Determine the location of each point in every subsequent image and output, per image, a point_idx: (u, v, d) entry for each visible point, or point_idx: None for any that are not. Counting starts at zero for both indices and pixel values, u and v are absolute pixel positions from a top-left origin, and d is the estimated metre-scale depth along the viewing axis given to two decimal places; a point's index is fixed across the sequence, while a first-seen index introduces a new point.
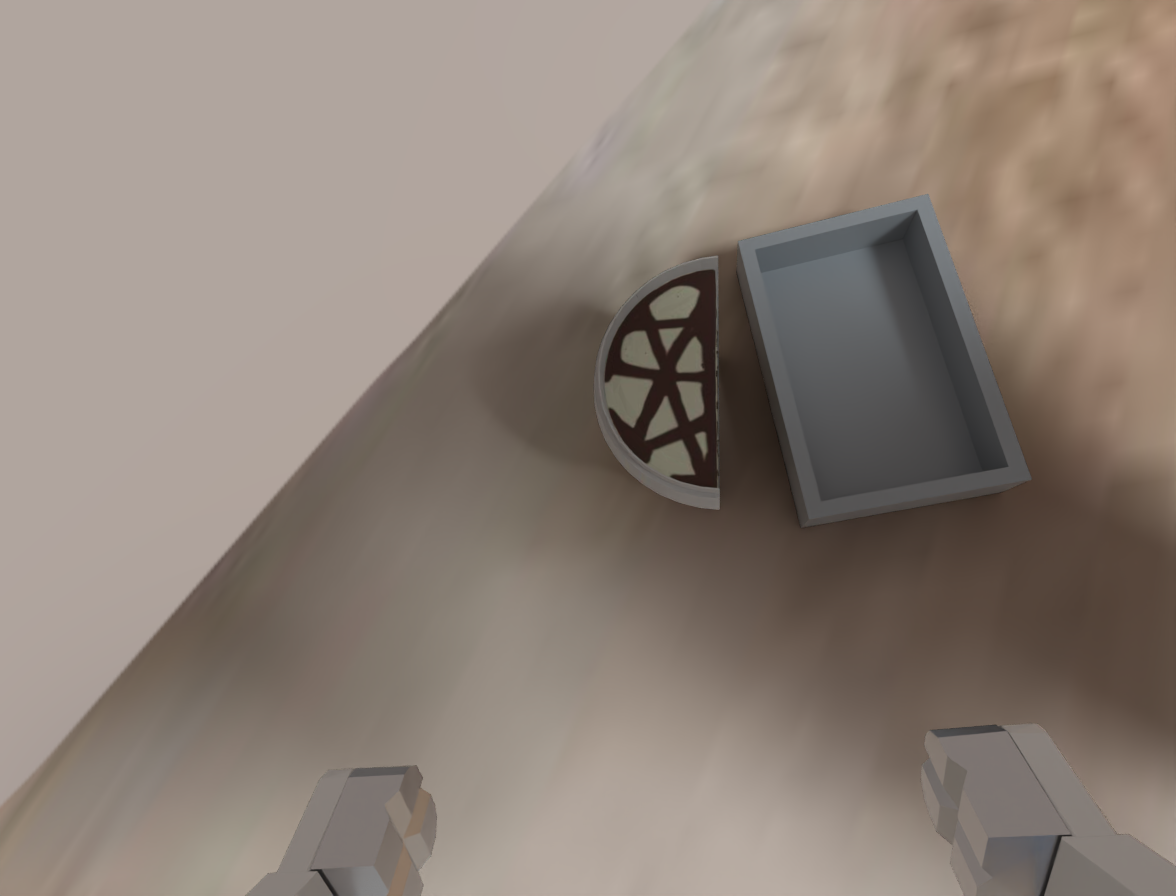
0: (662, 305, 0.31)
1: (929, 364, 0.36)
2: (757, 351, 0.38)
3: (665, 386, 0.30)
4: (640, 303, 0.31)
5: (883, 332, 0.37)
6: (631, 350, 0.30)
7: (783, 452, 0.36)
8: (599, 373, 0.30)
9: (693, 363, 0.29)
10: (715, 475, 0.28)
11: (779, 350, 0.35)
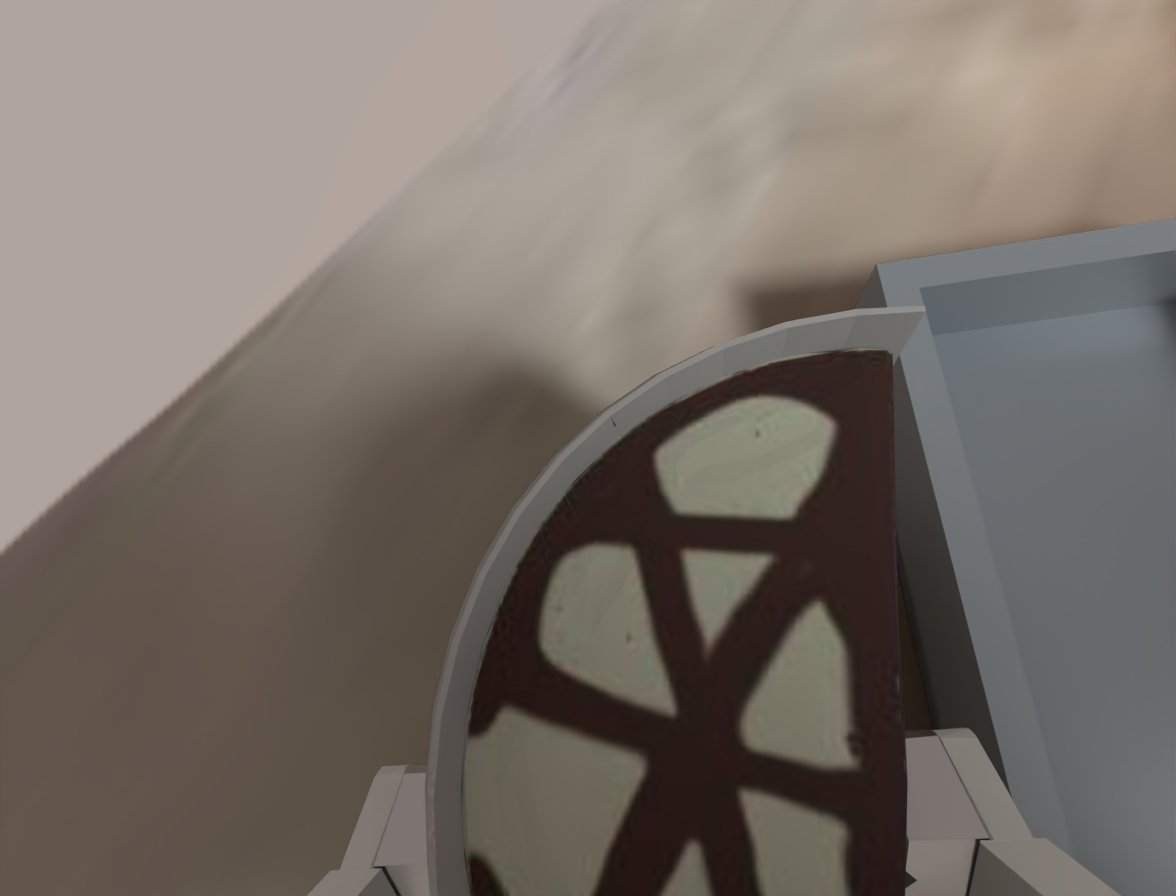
0: (700, 460, 0.09)
1: None
2: None
3: (694, 795, 0.08)
4: (625, 444, 0.09)
5: None
6: (576, 616, 0.08)
7: None
8: (440, 726, 0.08)
9: (811, 725, 0.07)
10: None
11: (989, 563, 0.13)
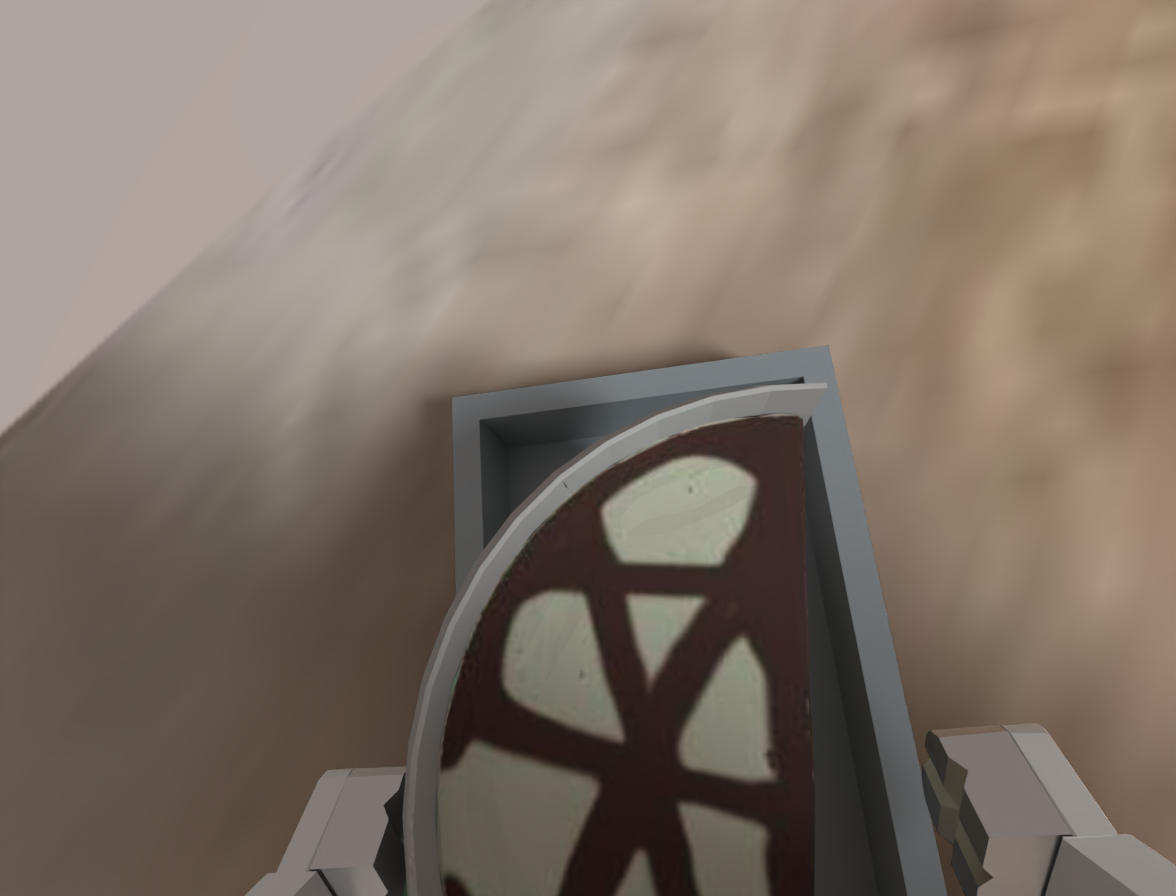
0: (641, 514, 0.10)
1: None
2: None
3: (640, 809, 0.09)
4: (575, 501, 0.10)
5: None
6: (535, 656, 0.10)
7: None
8: (417, 764, 0.08)
9: (736, 743, 0.09)
10: None
11: None
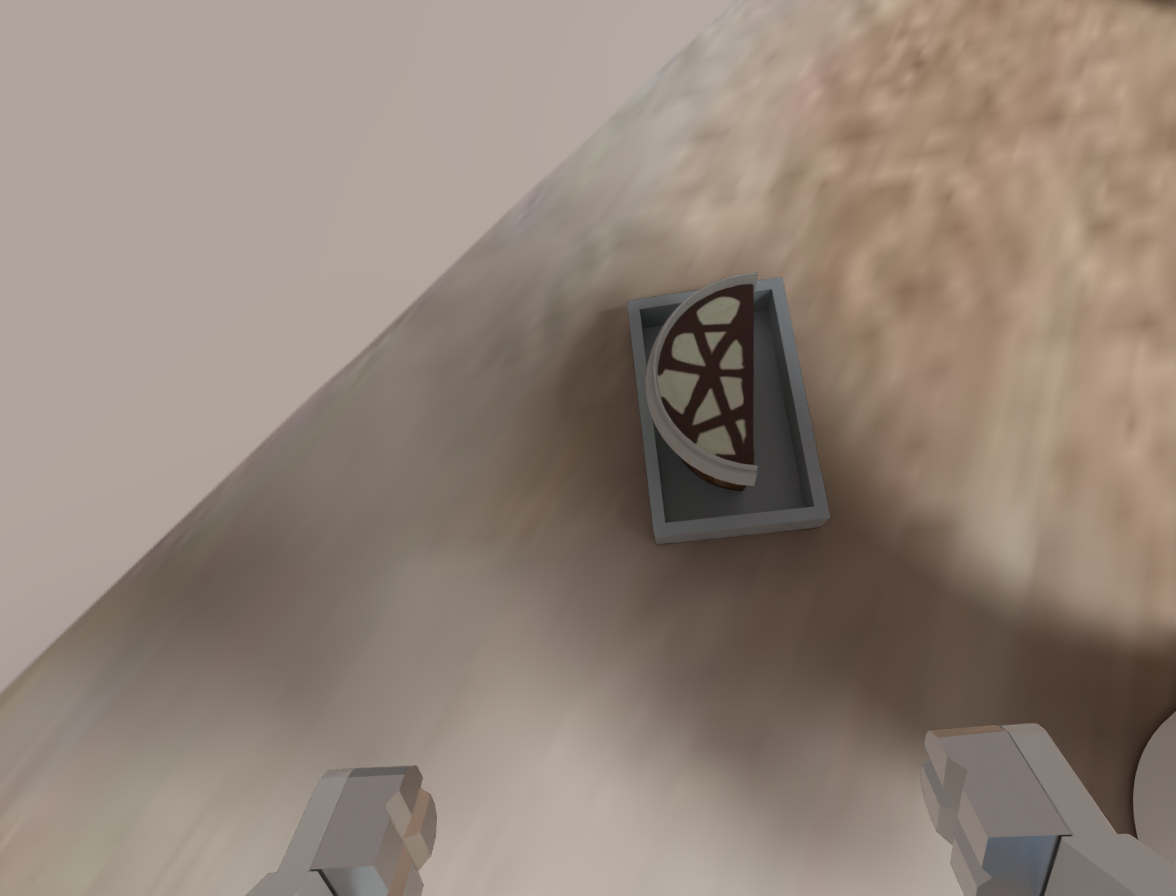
0: (708, 312, 0.36)
1: (774, 416, 0.43)
2: None
3: (710, 380, 0.35)
4: (689, 309, 0.36)
5: None
6: (680, 349, 0.36)
7: None
8: (654, 367, 0.35)
9: (734, 362, 0.35)
10: (752, 455, 0.33)
11: None
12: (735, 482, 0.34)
